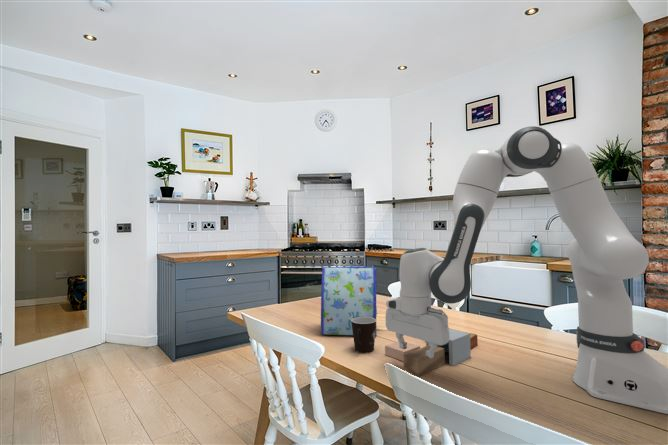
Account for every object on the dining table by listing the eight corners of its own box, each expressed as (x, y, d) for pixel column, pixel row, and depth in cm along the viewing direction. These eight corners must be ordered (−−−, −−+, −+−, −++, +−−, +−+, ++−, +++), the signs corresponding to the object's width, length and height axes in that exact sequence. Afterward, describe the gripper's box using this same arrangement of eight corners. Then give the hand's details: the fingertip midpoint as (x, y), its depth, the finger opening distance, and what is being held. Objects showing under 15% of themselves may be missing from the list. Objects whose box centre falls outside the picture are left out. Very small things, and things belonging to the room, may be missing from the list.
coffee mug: (363, 343, 127) (362, 315, 127) (382, 349, 121) (381, 319, 121) (340, 352, 119) (339, 322, 119) (359, 358, 113) (358, 327, 113)
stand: (420, 355, 115) (420, 346, 115) (404, 361, 110) (404, 352, 110) (401, 349, 121) (400, 340, 121) (385, 354, 116) (384, 345, 116)
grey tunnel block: (470, 357, 112) (470, 333, 112) (452, 365, 106) (452, 340, 106) (444, 349, 119) (444, 327, 119) (426, 357, 113) (425, 333, 113)
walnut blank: (444, 365, 107) (444, 348, 107) (418, 377, 99) (417, 359, 99) (430, 360, 111) (430, 344, 111) (403, 372, 103) (403, 354, 103)
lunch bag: (377, 325, 150) (376, 263, 150) (378, 338, 133) (376, 268, 133) (325, 325, 152) (323, 264, 152) (319, 337, 135) (318, 269, 136)
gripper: (453, 309, 97) (454, 360, 97) (395, 297, 112) (396, 341, 112) (440, 313, 93) (441, 366, 92) (382, 300, 108) (382, 346, 108)
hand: (416, 352), depth 102 cm, fingers open, 8 cm apart
